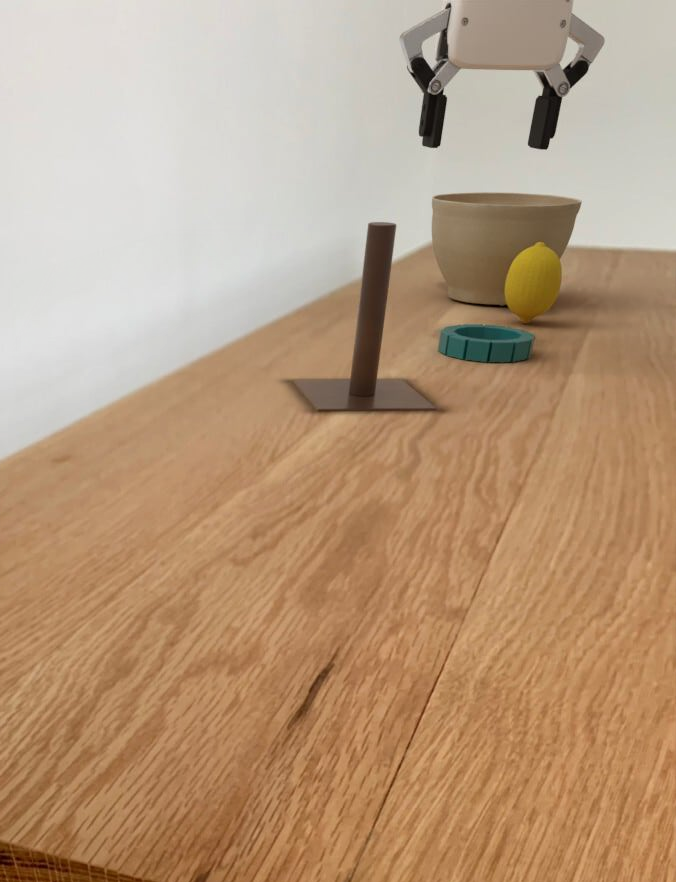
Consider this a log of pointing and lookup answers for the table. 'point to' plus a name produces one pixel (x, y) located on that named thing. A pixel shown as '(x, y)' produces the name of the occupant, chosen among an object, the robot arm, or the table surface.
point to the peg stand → (368, 343)
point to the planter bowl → (494, 237)
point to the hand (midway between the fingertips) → (484, 147)
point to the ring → (486, 343)
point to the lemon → (533, 282)
